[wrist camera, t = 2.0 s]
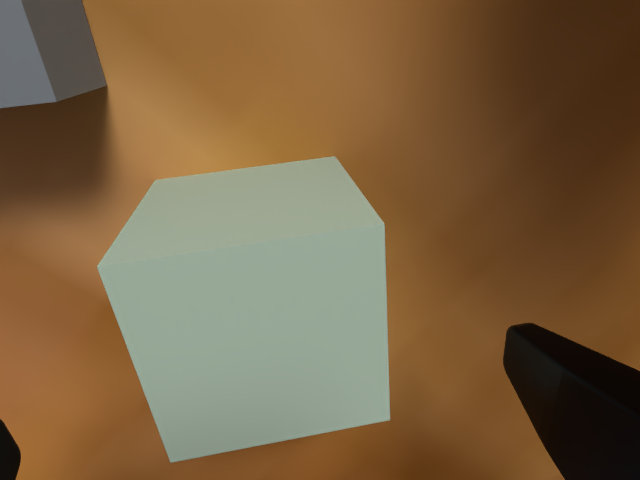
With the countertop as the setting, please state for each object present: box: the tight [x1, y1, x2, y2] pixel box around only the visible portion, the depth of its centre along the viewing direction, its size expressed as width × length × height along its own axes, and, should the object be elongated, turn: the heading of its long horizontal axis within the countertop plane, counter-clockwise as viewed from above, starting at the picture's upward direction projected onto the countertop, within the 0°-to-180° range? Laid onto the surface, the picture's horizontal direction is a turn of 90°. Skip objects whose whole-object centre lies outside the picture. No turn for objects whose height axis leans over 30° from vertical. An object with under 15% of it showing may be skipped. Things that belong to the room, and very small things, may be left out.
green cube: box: [97, 156, 390, 463], centre depth 11 cm, size 5×5×5 cm
